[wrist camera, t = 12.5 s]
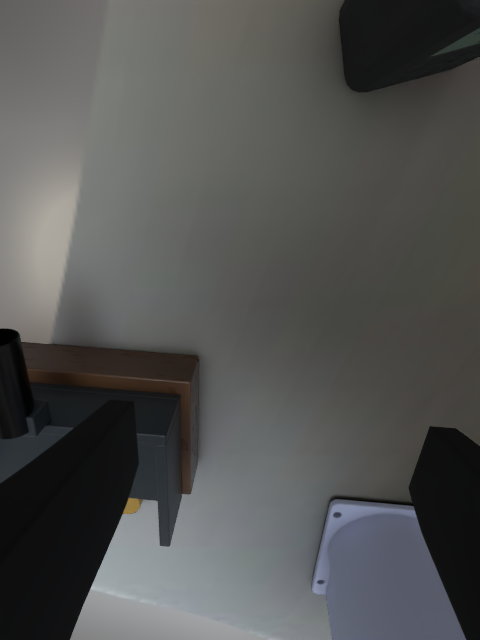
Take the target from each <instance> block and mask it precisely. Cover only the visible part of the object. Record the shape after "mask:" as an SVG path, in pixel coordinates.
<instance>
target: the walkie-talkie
mask: <svg viewBox="0 0 480 640" xmlns="http://www.w3.org/2000/svg"><path fill="white" fill-rule="evenodd" d="M339 23H340V33H341V43H342V53H343V63H344V73H345V78H346V82H347V84H348V85H349V86H350V88H351V89H352V90H355V91H358V92H368V91H372V90H376V89H379V88H383V87H387V86H391V85H394V84H398V83H402V82H405V81H409V80H413V79H417V78H420V77H424V76H428V75H431V74H435V73H439V72H443V71H446V70H450V69H453V68H455V67H457V66H459V65H462V64H464V63H466V62H468V61H471V60H473V59H475V58H478V57H480V0H345V1H344V3H343V5H342V7H341V10H340V17H339Z"/></svg>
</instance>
